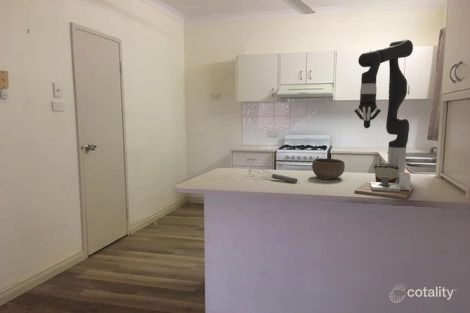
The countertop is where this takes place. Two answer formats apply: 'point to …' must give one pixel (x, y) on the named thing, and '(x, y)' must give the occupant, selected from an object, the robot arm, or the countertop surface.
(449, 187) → the countertop surface
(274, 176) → the kitchen whisk
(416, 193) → the countertop surface
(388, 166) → the food container
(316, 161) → the bowl
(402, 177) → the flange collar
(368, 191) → the post board
